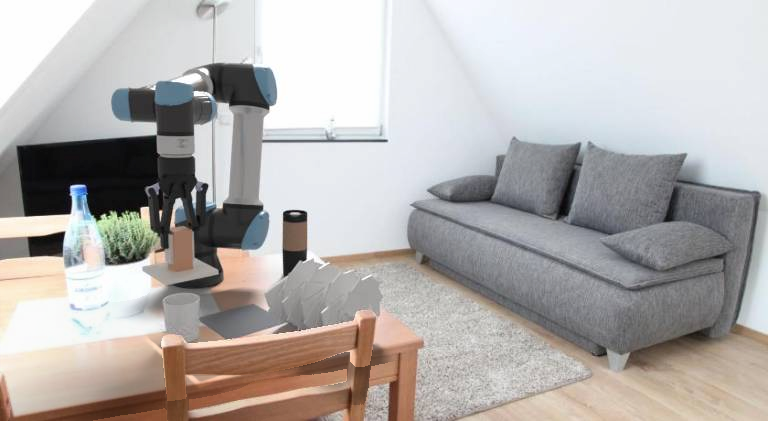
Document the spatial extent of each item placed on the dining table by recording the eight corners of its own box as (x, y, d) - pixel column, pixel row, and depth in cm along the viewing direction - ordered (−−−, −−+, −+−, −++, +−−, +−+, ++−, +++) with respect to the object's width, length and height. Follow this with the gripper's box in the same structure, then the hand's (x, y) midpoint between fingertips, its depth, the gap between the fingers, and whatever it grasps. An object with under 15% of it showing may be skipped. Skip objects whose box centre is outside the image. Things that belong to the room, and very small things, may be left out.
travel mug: (294, 268, 181) (295, 208, 177) (311, 273, 177) (312, 212, 173) (277, 274, 175) (277, 212, 171) (294, 279, 171) (295, 216, 167)
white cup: (189, 349, 123) (188, 307, 121) (157, 345, 125) (155, 303, 123) (207, 335, 131) (206, 294, 129) (176, 331, 132) (175, 291, 130)
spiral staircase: (301, 331, 145) (379, 355, 130) (252, 322, 131) (333, 348, 116) (320, 263, 148) (398, 279, 133) (275, 246, 134) (356, 263, 119)
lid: (142, 270, 124) (140, 227, 122) (193, 261, 132) (192, 220, 130) (165, 285, 116) (163, 238, 114) (218, 274, 124) (217, 230, 122)
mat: (196, 321, 138) (195, 318, 138) (252, 306, 149) (252, 303, 149) (228, 343, 127) (228, 340, 127) (287, 325, 138) (287, 322, 138)
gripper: (142, 159, 110) (147, 272, 115) (221, 155, 122) (223, 257, 127) (128, 155, 116) (134, 263, 120) (205, 151, 127) (207, 250, 132)
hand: (179, 260), depth 124 cm, fingers closed on lid, 4 cm apart
